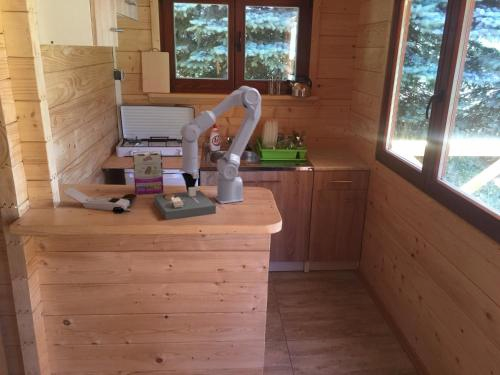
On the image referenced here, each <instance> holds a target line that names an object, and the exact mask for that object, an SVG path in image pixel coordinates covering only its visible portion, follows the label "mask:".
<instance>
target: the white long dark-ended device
mask: <svg viewBox="0 0 500 375" xmlns="http://www.w3.org/2000/svg"><path fill="white" fill-rule="evenodd" d="M62 192H63V193H64V194H65V195H67V196H69V197H70V198H72V199H73V200H75V201H77V202H79V203H80V204H82V205H83V208H85V209H90V210H91V209H92V210H101V211H102V210H103V211H112V210H113V208H114V207H121V208H123V209H124V211H123V212H125V211H126V212H130V211H131V210H132V209H131V208H128V207H130V205H131V204H130V200H129V199H125V198H119V197H112V198H111V197H110V198H108V197H95V196H93V197H92V196H90V197H89V196H88V195H86V194H85V193H83V192H82V191H80V190H78V189H77V188H76V187H73V186H70V187H68V188H67V189H64V190H63V191H62Z"/></svg>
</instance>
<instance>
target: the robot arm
mask: <svg viewBox="0 0 500 375" xmlns="http://www.w3.org/2000/svg"><path fill="white" fill-rule="evenodd" d="M236 106H237V107H239V106H243V110H244V112H245V116H244V118H243V120H242V122H241V124H240V125H239V128H238V130H237V131H236V134H235V136H234V138H233V140H232V142H231V144H230V146H229V148H228V150H227V152H225V153H224V154H223V156H222V157H221V158H220V159H219V160H218V161H217V163H216V170H217V172H218V175H217V191H216V192H217V194H216V195H214V196H213V199H215V200H216V201H217V202H218V203H219V204H221V205H222V204H229V203H231V204H232V203H237V202H243V201H244V199H243V194H244V193H243V191H244V190H243V188H244V185H243V179H242V177H240V176H238V173H239V167H240V164H241V157H242V155H243V153H244V151H245V148H246V147H247V145H248V142H249V140H250V139H251V137H252V135H253V133H254V131H255V129H256V127H257V125H258V122H259V121H260V118H261V116H262V96H261V94H260V92H259V91H258V90H257V89H256V88H254V87H250V86H247V85H242V86H240V87H239V88H238V89H236V90H233V91H232V92H231V93H230V94H229V95H227V97H225V98H224V99H223V100H222V101H220V102H219V103H218V104H217V105H216V106H214V107H213V108H212V109H211V110H204V111H200V112H199V115H198V116H196V117H195V118H194V119H190V120H189V121H188V122H189V123H185V124H183V126H182V127H181V129H180V135H181V136H182V137H181V138H182V141H181V142H182V143H181V147H182V148H181V153H182V154H181V159H182V162H181V168H179V170H178V171H179V172H182V173H181V176H182V178H183V181H184V183H185V186H186V187H185V188H186V189H185V190H186V192H188V188H189V187H195V188H196V183H197V180H198V179H200V175H199V174H200V173H199V144H198V140H199V138H200V135H201V134H203V133H204V132H206V130H208V129H210V128H211V127H212V126H213V125H214V124H216V120H217V118H219V117H220V116H222V115H223V114H224V113H226V112H227V111H228V110H230V109H232V108H234V107H236Z"/></svg>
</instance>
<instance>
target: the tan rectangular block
mask: <svg viewBox="0 0 500 375" xmlns="http://www.w3.org/2000/svg"><path fill="white" fill-rule="evenodd" d="M196 189H197V188H196V186H195V187H189V188H188V195H189V196H196V191H197V190H196Z"/></svg>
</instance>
